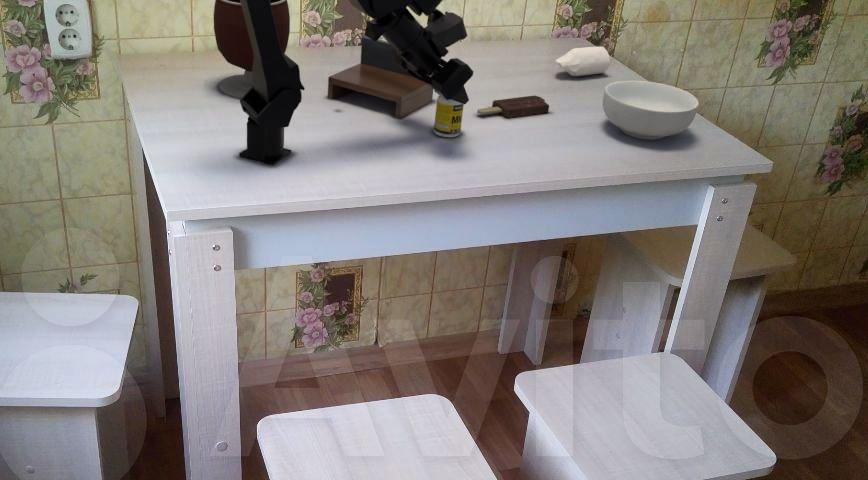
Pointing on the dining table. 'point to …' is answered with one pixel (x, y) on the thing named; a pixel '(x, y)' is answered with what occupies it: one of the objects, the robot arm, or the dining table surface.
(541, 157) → the dining table surface
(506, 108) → the ice cream bar
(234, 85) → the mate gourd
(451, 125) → the supplement bottle
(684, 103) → the cereal bowl
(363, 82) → the shelf
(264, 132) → the robot arm
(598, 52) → the white tapered cylinder
